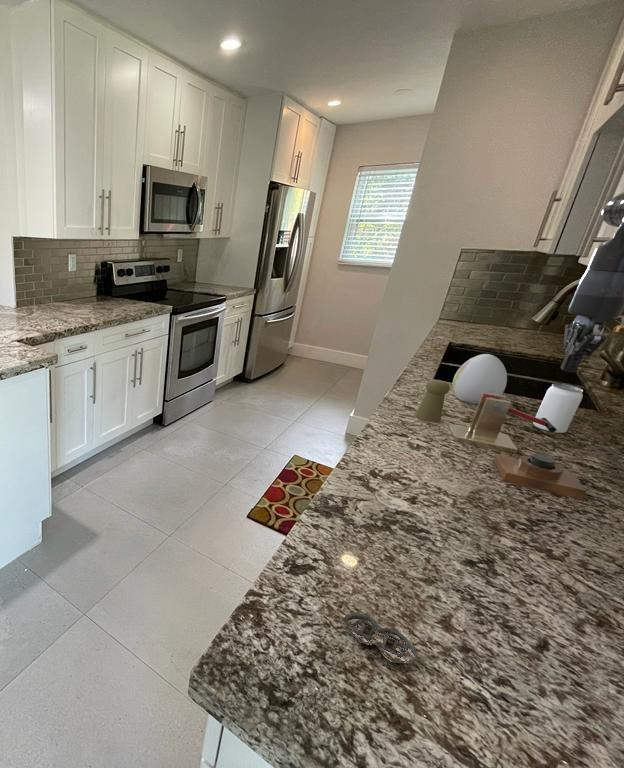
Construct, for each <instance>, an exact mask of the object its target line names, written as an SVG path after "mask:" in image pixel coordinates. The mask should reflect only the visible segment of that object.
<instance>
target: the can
mask: <svg viewBox="0 0 624 768" xmlns="http://www.w3.org/2000/svg"><path fill="white" fill-rule="evenodd" d="M583 392H584V390H583V389H582V388H580V387H579V386H578V387H577V386H575V385H570V384H564V383H552V384H551V386H550V387H549V388H548V389H547V390H546V393H545V395H544V397H543V399H542V401H541V403H540V406H539V407H538V410H537V413H536V415H535V417H536V418H539V419H541V418H546V419H547V420H548V421H549V422H550V423H551V424H552V425H553V426H554V427H555V428H556V431H555V432H552V433H554V434H564V433H567V431H568V429H569V427H570V426H571V423H572V421H573V419H574V417H575V414H576V413H577V410H578V408H579V406H580V404H581V402H582V400H583V396H584V395H583ZM532 422H533V421H532ZM533 426H534V427H535V428H537V429H539V430H542V431H545V432H549V433H551V432H550V431H549V430H548V429H547V428H546V427H545V426H543V425H540V424H538V423H535V422H533Z"/></svg>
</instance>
